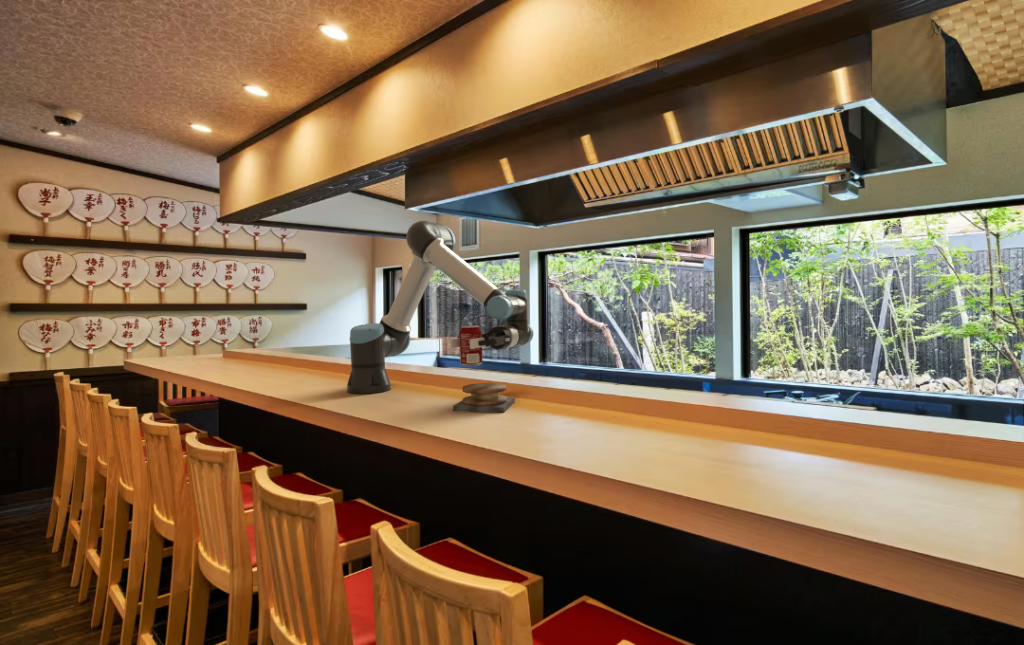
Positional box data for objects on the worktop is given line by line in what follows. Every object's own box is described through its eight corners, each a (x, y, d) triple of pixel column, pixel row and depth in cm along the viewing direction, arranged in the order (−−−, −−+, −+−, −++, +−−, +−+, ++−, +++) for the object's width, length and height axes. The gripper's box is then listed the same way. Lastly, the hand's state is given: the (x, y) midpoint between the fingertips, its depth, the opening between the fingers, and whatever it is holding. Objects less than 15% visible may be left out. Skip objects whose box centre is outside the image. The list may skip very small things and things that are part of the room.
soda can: (481, 366, 168) (480, 326, 167) (459, 367, 168) (457, 327, 167) (483, 363, 174) (481, 325, 174) (461, 364, 174) (460, 325, 174)
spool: (453, 411, 161) (452, 390, 161) (467, 401, 176) (467, 382, 175) (504, 412, 158) (503, 391, 158) (514, 402, 173) (514, 382, 172)
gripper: (528, 349, 181) (488, 357, 161) (478, 347, 191) (435, 355, 172) (527, 326, 181) (487, 331, 161) (477, 325, 191) (434, 331, 171)
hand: (460, 343), depth 166 cm, fingers closed on soda can, 7 cm apart
